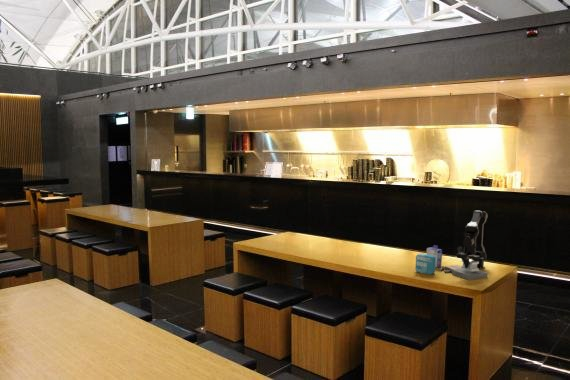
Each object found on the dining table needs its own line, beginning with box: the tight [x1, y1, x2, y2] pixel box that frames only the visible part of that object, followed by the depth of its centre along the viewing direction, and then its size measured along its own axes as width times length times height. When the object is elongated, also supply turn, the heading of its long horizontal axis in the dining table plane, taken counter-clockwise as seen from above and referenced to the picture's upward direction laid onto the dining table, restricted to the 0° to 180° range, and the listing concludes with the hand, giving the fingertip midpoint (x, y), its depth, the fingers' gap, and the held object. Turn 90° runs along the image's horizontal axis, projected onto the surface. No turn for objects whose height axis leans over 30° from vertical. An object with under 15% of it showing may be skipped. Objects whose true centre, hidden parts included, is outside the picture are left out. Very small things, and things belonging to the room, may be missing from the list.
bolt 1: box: [438, 265, 446, 272], centre depth 329 cm, size 6×2×2 cm, turn 139°
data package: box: [414, 253, 436, 275], centre depth 323 cm, size 12×4×12 cm, turn 53°
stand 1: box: [444, 264, 462, 271], centre depth 329 cm, size 11×11×2 cm
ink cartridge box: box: [426, 244, 443, 268], centre depth 341 cm, size 10×6×14 cm, turn 33°
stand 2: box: [451, 268, 489, 281], centre depth 316 cm, size 16×15×3 cm
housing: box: [460, 258, 479, 272], centre depth 316 cm, size 6×9×6 cm, turn 24°
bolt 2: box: [443, 269, 453, 274], centre depth 324 cm, size 6×2×2 cm, turn 114°
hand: (469, 267), depth 316 cm, fingers closed on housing, 6 cm apart
